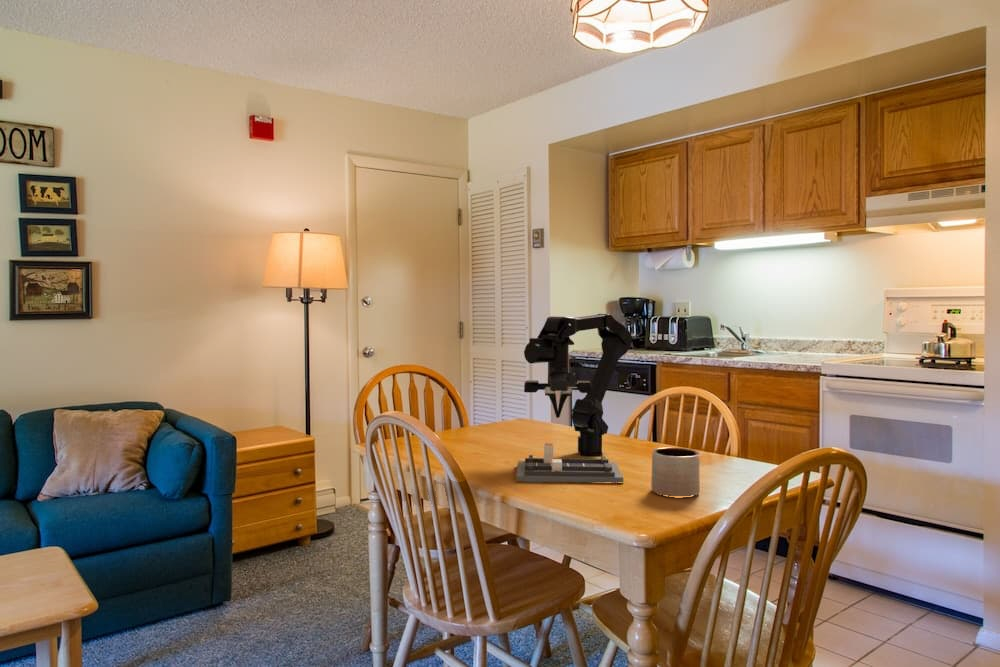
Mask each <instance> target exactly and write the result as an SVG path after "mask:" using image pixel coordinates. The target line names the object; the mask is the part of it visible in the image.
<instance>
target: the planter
mask: <svg viewBox="0 0 1000 667" xmlns="http://www.w3.org/2000/svg"><path fill="white" fill-rule="evenodd" d="M700 458H701V454H700V452H699V451H697V450H694V449H692V448H686V447H680V446H679V447H678V446H677V447H676V446H673V447H672V446H667V447H666V446H665V447H657V448H654V449H652V451H651V477H650V478H651V481H650V482H651V484H650V485H651V488H650V489H651V491H652V492H653V491H654V492H653V493H655V494H656V493H658V494H661V495H668V496H691V495H696V494H697V495H699V494H700V489H701V488H700V487H701V485H700V484H701V483H700V479H701V477H700V476H701V475H700V472H701V470H700V469H701V468H700V466H701V465H700V464H701V463H700V462H701V461H700V460H701V459H700ZM698 493H699V494H698ZM658 494H657V495H658ZM697 495H696V496H697Z"/></svg>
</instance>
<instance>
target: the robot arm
mask: <svg viewBox="0 0 1000 667" xmlns="http://www.w3.org/2000/svg"><path fill="white" fill-rule="evenodd" d="M594 329H597V333H598V334H597V335H598V336H599V338H600V339H601V344H600V345H601V346H600V347H601V350H602V355H601V357H600V359H599V363H598V365H597V367H596V369H595V372H594V375H593V377H592V379H591V381H590V380H577V382H576V373H575V372H569V358H570V356H569V355H570V354H569V352H570V349H569V346H574V345H575V342H574V341H573V340H572V339H571V338H570V337H571V336H574V335H575V334H577V333H579V332H581V331H589V330H594ZM632 344H633V335H632V334H631V332H630V331H629V330H628V329H627V327H626V326H625V325H623V324H622V323H621V322H619V321H618V320H617V319H615V317H613V315H611V314H610V313H597V314H593V315H585V316H578V317H572V316H548V317H547V318H546V320H545V322H544V325H543V327H542V329H541V330H540V332H539V333H538V336H537V337H533V338H532V337H530V338H529V342H528V343H527V344H526V345H525V348H524V350H523V354H524V355H523V356H524V359H525V360H526V362H527V363H528V364H542V363H545V364H546V363H547V382H540V381H539V380H536V379H535V380H531V379H530V380H529V379H528V380H525V381H524V386H523V388H524V389H523V391H524V393H537V392H538V391H539V390H541V391H544V395H545V396H547V397H549V400H550V402H551V404H552V407H553V410H554V415H555V417H556V418H557V419H558V418H560V417H561V414H562V410H563V408H564V404H565V402H566V400H567V398H569V397H571V396H572V391H579V392H580V393H581V394H585V396H584V397H583V398H582V399H580V398H577V399H576V400H575V402H574V405H573V407H572V409H571V412H572V413H571V416H570V418H571V420H572V424H573V428H574V432H579V435H578V436H577V452H578V453H579V456H604V454H603V453H604V452H603V436H604V435H606V434H607V433H608V430H609V425H608V424H607V423H606V422H605V420H604V419H603V415H604V408H603V400H604V398H605V395H606V393H607V391H608V390H607V389H608V387H609V385H610V382H611V380H612V377H613V374H614V372H615V369H616V367H617V364H618V361H619V360H620V359H621V358H622V357H623V356H624V355H626V353H628V351H629V350H630V347H631V346H632ZM556 392H559V397H558V398H559V399H558V402H557V396H556V394H557V393H556Z"/></svg>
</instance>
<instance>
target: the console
mask: <svg viewBox="0 0 1000 667" xmlns="http://www.w3.org/2000/svg"><path fill="white" fill-rule="evenodd" d="M516 467H517V468H516V482H517V481H527V482H526V483H543V482H612V483H613V482H615V483H616V482H617V483H618V482H623V483H624V476H623V474H622V472H621V471H620V468H619V466H618V465H617V463H616V462H615V461H613V462H612V461H609V459H608V458H606V456H605V455H600V458H561V457H559V458H556V457H555V458H554V457H553V459H552V463H544V457H542V458H541V457H536V458H535V457H534V455H533V454H532V455H531V454H529V455H528V457H525V458H524V460H517V466H516ZM612 483H611V484H612Z"/></svg>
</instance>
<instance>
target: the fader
mask: <svg viewBox="0 0 1000 667" xmlns="http://www.w3.org/2000/svg"><path fill="white" fill-rule="evenodd" d="M543 458H544V463H552V459H553V458H554V443H549V442H548V443H544V442H543Z"/></svg>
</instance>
